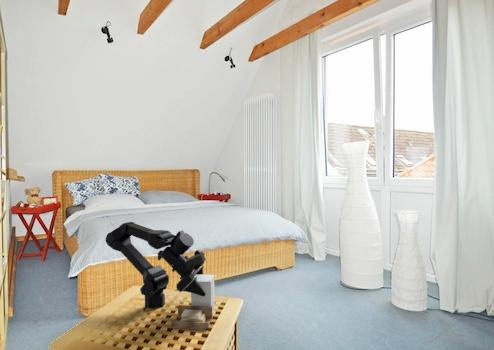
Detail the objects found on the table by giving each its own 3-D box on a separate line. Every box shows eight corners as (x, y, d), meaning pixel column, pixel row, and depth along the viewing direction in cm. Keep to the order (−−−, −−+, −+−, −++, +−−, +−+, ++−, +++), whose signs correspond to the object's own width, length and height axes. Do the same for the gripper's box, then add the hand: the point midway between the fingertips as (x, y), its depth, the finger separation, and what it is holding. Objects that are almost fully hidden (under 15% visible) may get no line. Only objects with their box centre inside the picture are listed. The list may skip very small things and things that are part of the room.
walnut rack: (172, 330, 109) (171, 316, 109) (179, 319, 117) (178, 305, 117) (207, 332, 108) (207, 317, 108) (212, 320, 116) (212, 306, 116)
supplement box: (215, 307, 124) (215, 274, 123) (211, 316, 117) (210, 281, 116) (196, 306, 125) (195, 273, 124) (190, 315, 118) (190, 281, 117)
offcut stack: (179, 326, 110) (178, 315, 110) (182, 319, 115) (182, 309, 115) (202, 326, 110) (202, 316, 110) (205, 320, 114) (205, 309, 114)
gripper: (185, 253, 110) (218, 286, 110) (197, 239, 129) (226, 267, 129) (162, 275, 112) (195, 308, 111) (178, 258, 130) (206, 286, 130)
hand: (207, 291), depth 120 cm, fingers closed on supplement box, 7 cm apart
